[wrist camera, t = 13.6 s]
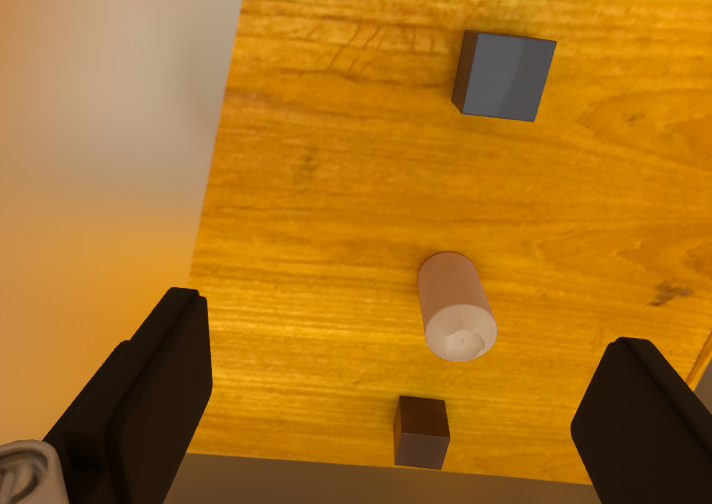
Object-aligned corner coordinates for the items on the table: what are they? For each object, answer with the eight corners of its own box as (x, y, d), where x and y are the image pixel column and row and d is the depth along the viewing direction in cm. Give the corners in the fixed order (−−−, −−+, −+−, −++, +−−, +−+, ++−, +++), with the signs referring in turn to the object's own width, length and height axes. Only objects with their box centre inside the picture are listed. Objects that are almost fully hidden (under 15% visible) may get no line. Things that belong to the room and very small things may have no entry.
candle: (416, 252, 41) (426, 317, 32) (477, 249, 41) (505, 315, 32) (417, 302, 44) (426, 375, 35) (474, 300, 43) (498, 373, 34)
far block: (393, 426, 52) (394, 465, 47) (399, 395, 49) (401, 432, 45) (436, 431, 52) (441, 470, 47) (444, 400, 49) (450, 438, 45)
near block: (451, 101, 35) (461, 114, 30) (464, 29, 32) (478, 32, 28) (514, 108, 35) (534, 122, 30) (533, 37, 32) (557, 41, 28)
